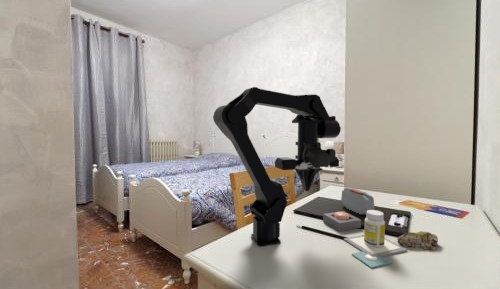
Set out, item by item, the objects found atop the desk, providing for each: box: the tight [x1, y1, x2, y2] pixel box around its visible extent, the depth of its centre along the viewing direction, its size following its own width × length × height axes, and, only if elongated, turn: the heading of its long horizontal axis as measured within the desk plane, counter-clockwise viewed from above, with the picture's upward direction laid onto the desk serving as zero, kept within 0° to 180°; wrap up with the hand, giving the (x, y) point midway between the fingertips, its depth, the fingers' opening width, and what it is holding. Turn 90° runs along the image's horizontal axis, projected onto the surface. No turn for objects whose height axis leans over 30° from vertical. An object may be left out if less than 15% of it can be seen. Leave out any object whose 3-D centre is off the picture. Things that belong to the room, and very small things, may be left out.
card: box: [351, 251, 393, 269], centre depth 57 cm, size 6×6×1 cm
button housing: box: [322, 210, 362, 232], centre depth 77 cm, size 8×8×2 cm
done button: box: [334, 211, 350, 221], centre depth 77 cm, size 4×4×2 cm
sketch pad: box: [343, 234, 408, 257], centre depth 64 cm, size 11×10×1 cm
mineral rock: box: [396, 230, 439, 251], centre depth 65 cm, size 11×4×8 cm
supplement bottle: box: [363, 210, 386, 247], centre depth 64 cm, size 5×5×8 cm
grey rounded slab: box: [340, 187, 375, 215], centre depth 89 cm, size 14×3×8 cm, turn 20°
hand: (306, 190), depth 72 cm, fingers closed
